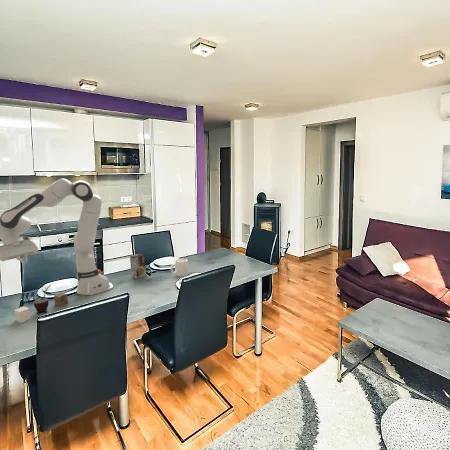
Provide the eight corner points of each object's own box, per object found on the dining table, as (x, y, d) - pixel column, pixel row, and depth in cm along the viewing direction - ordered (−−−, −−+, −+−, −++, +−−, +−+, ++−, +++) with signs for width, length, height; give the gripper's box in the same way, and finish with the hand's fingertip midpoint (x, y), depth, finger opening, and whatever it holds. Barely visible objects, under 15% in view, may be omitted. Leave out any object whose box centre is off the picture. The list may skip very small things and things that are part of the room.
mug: (175, 278, 231) (174, 264, 229) (168, 274, 239) (168, 260, 237) (191, 274, 239) (190, 260, 237) (184, 270, 247) (184, 257, 245)
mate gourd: (32, 313, 177) (28, 288, 175) (44, 307, 185) (41, 283, 182) (41, 315, 175) (38, 289, 172) (54, 309, 182) (51, 284, 179)
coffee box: (140, 273, 242) (139, 253, 239) (146, 275, 238) (145, 254, 235) (130, 277, 234) (129, 256, 231) (136, 278, 231) (135, 257, 228)
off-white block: (25, 316, 174) (24, 306, 173) (30, 318, 171) (29, 308, 170) (15, 320, 169) (14, 310, 168) (20, 322, 167) (19, 312, 166)
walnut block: (62, 301, 192) (61, 292, 191) (67, 303, 190) (66, 294, 189) (54, 304, 188) (53, 295, 187) (60, 306, 186) (59, 297, 185)
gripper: (-6, 243, 173) (6, 263, 170) (32, 236, 191) (44, 254, 188) (-9, 250, 176) (3, 270, 173) (29, 242, 194) (40, 260, 191)
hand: (25, 261), depth 181 cm, fingers closed
